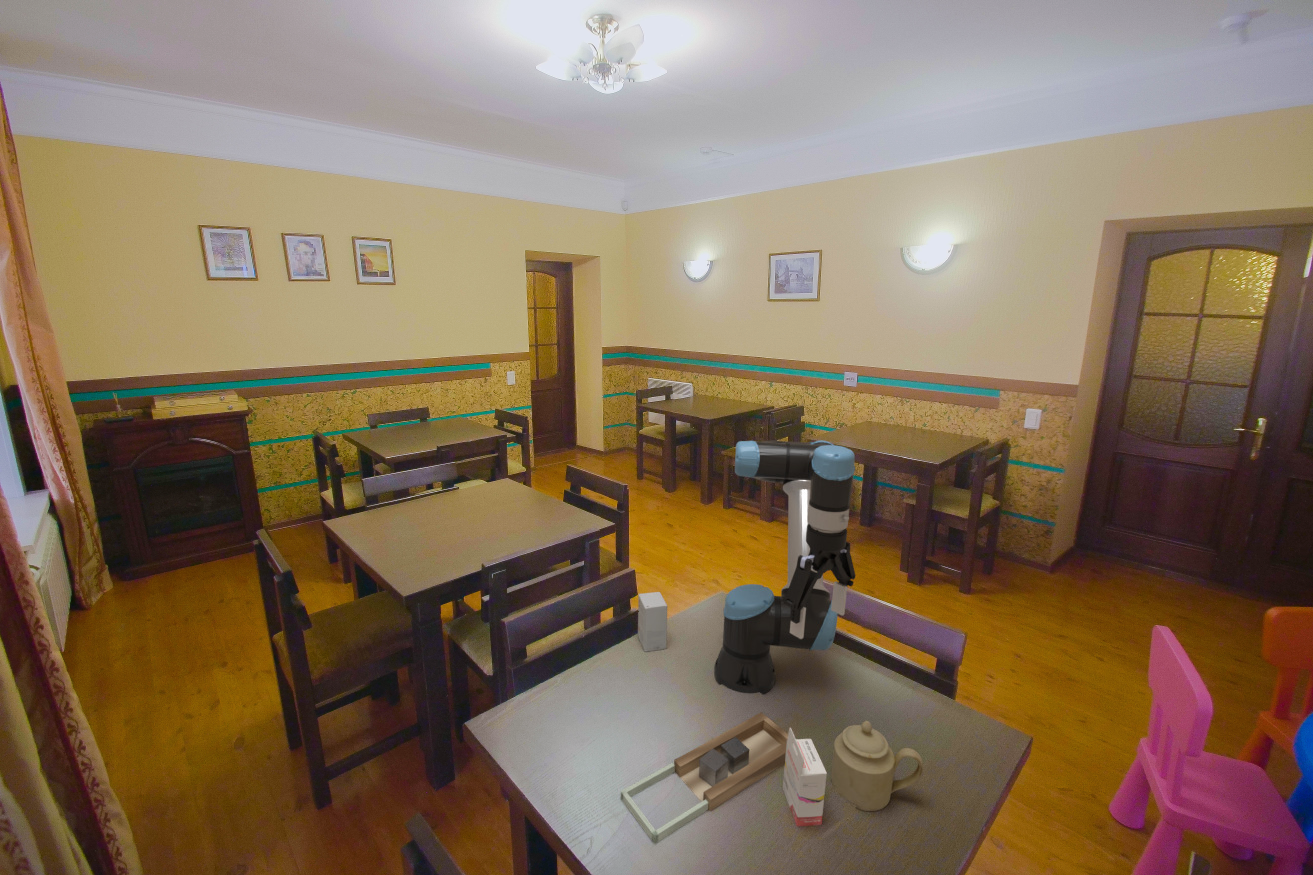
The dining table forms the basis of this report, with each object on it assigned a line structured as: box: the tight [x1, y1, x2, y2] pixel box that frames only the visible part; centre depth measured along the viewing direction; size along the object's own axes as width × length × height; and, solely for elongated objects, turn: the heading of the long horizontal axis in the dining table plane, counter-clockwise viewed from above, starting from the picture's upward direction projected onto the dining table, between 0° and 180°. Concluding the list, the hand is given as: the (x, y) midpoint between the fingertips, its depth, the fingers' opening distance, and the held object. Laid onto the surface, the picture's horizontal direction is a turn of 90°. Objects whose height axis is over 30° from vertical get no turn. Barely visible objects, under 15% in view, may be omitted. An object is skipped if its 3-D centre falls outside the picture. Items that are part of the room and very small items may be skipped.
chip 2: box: [720, 737, 749, 774], centre depth 112 cm, size 4×4×4 cm
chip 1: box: [699, 749, 729, 787], centre depth 109 cm, size 4×4×4 cm
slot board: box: [673, 712, 789, 812], centre depth 113 cm, size 11×24×4 cm, turn 125°
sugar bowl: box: [830, 720, 925, 812], centre depth 107 cm, size 15×11×15 cm
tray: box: [620, 762, 709, 845], centre depth 103 cm, size 11×12×2 cm
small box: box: [637, 591, 668, 652], centre depth 153 cm, size 8×6×13 cm
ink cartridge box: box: [782, 726, 828, 827], centre depth 102 cm, size 9×5×15 cm, turn 5°
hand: (817, 623), depth 113 cm, fingers open, 13 cm apart
